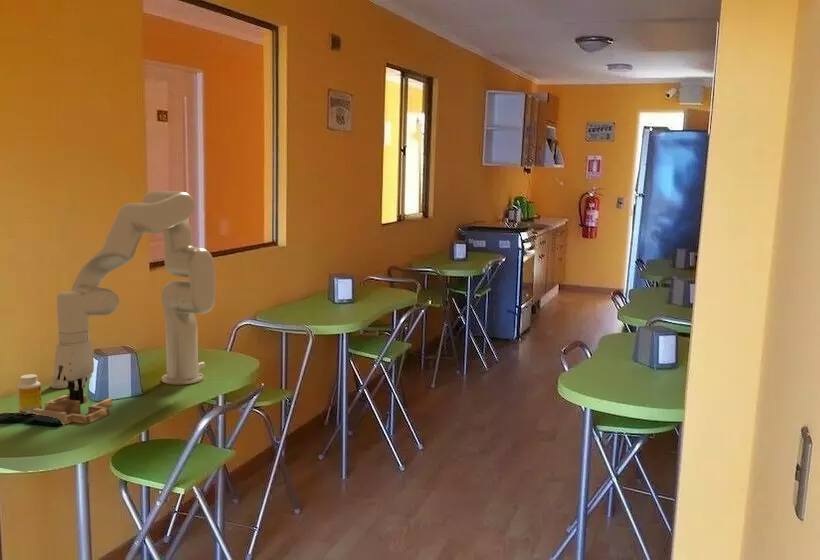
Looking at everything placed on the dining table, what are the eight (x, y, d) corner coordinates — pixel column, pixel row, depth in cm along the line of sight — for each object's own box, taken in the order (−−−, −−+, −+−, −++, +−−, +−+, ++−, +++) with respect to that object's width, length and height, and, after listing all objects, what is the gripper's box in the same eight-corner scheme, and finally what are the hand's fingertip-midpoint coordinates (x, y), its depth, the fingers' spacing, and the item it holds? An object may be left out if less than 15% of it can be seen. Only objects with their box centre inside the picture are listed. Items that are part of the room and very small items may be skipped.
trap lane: (70, 399, 211) (69, 389, 210) (126, 407, 205) (126, 396, 205) (18, 418, 194) (18, 407, 193) (78, 427, 188) (78, 416, 187)
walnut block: (65, 413, 199) (64, 398, 199) (80, 415, 198) (80, 400, 197) (45, 421, 193) (44, 406, 192) (61, 423, 191) (60, 408, 191)
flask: (49, 390, 219) (47, 357, 218) (51, 383, 226) (49, 352, 225) (75, 388, 222) (74, 355, 221) (77, 381, 229) (75, 350, 227)
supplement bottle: (44, 413, 198) (42, 376, 197) (21, 417, 195) (19, 379, 193) (39, 408, 202) (37, 372, 201) (16, 412, 199) (14, 375, 197)
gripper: (82, 330, 206) (85, 394, 208) (41, 341, 192) (44, 409, 194) (105, 332, 203) (107, 397, 206) (64, 344, 189) (67, 413, 192)
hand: (76, 403), depth 200 cm, fingers closed
